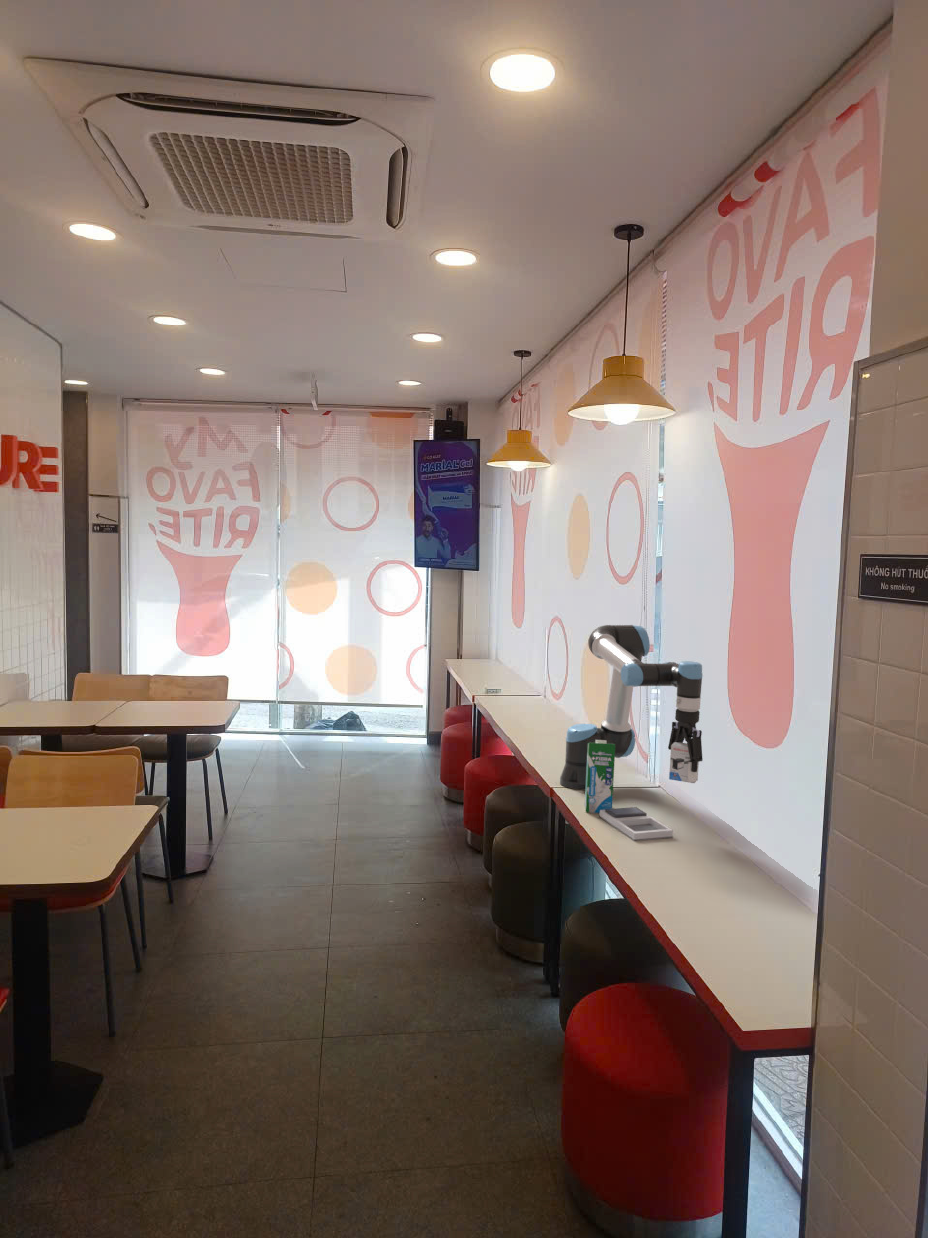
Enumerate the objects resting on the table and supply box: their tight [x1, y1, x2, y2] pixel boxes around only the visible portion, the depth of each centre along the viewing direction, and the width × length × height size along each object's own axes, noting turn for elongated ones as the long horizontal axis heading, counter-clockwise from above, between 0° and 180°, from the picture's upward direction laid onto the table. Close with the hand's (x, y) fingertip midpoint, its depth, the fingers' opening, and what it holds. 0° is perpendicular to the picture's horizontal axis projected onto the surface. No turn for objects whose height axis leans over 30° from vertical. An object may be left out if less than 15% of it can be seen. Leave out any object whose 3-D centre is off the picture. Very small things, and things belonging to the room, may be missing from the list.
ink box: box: [668, 742, 700, 784], centre depth 271 cm, size 8×5×12 cm, turn 62°
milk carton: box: [584, 740, 616, 814], centre depth 293 cm, size 9×9×25 cm
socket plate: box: [599, 810, 674, 842], centre depth 276 cm, size 24×14×2 cm, turn 18°
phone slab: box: [605, 806, 648, 818], centre depth 282 cm, size 7×12×1 cm, turn 108°
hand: (683, 776), depth 271 cm, fingers closed on ink box, 9 cm apart
